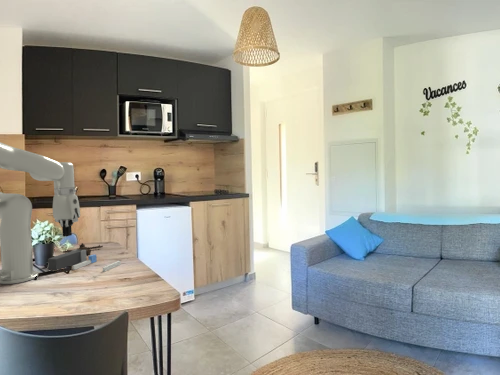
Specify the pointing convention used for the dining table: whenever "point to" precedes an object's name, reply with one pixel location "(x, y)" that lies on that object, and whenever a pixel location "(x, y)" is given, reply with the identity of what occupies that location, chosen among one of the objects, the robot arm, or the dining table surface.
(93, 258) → the white blue-tipped sticks
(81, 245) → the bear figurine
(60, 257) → the dark grey rectangular block
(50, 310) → the dining table surface
